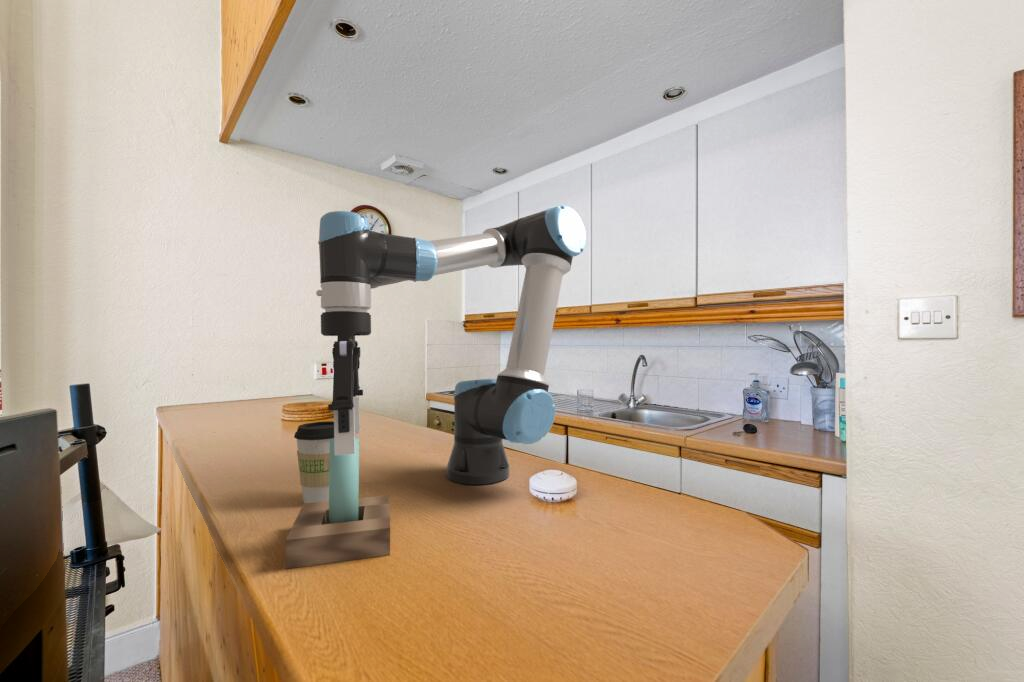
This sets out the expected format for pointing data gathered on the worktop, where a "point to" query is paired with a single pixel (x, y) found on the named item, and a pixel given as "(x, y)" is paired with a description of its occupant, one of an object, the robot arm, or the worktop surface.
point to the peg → (343, 485)
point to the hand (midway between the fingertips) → (348, 443)
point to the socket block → (338, 534)
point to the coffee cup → (314, 459)
